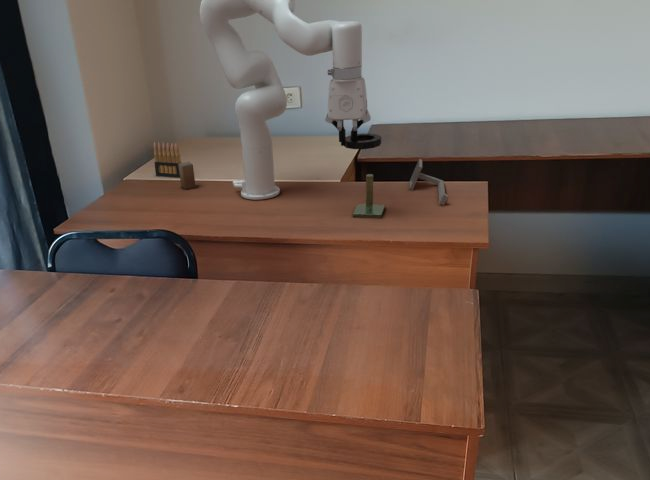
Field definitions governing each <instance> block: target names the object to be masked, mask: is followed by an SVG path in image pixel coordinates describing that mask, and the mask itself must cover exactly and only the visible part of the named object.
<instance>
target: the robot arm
mask: <svg viewBox="0 0 650 480" xmlns="http://www.w3.org/2000/svg"><path fill="white" fill-rule="evenodd" d="M295 9H296V0H201V2H200V6H199V19H200V23H201V26H202V29H203V31H204V33H205V35H206V36H207V39H209V41H210V44H211V45H212V47H213V50H214V52H215V55H216V58H217V59H218V62H219V64H220V66H221V69H222V71H223V73H224V75H225V78H226V80H227V82H228V83H229V85H230V86H231V87H232V88H234V89H237V90H241V89H246V88H249V87H253V86H254V89H250V90H247V91H245V92H242V93H241V94H239V96H238V98H237V99H236V101H235V106H234V110H235V111H234V112H235V116H236V120H237V123H238V127H239V133H240V134H239V135H240V144H241V152H242V153H241V154H242V166H243V177H244V179H242V180H238V179H237V180H236V179H234V180H232V186H233V188H234V189H240V196H241V197H242V198H243V199H247V200H252V201H253V200H255V201H257V200H258V201H260V200H269V199H272V198H275V197H277V196H279V194H280V193H281V189H280V187H279V186H278V185H276V184H275V183H276V182H275V167H274V151H273V138H272V133H271V130H270V128H269V125H268V123H267V122H268V121H269V120H272V119H275V118H278V117H280V116H281V115H283V114H284V113H285V111H286V110H287V106H288V99H287V94H286V92H285V88H284V86H283V84H282V81H281V79H280V76H279V74H278V71H277V69H276V67H275V65H274V62H273V60H272V59H271V57H270V56H269V55H268V54H267V53H266V52H264V51H262V50H257V49H256V50H255V49H254V50H251V51H248V50H247V48H246V47H245V44H244V42H243V39H242V37H241V35H240V33H239V32H238V31H237V30H236V29H235V27H234V26H232V25H231V24H230V22H229V21H230V20H231V21H232V20H237V19H241V18H247V17H250V16H253V15H255V14H258V15H260V16H261V17H263V18H264V19H266V20H267V21H268V22H270V23H272V24H273V25H274V28H275V31H276V33H277V35H278V37H279V38H280V40H281V41H282V42H283V44H286V45H287V46H288V47H290V49H293V50H295V51H296V52H297V53H299V54H301V55H303V56H306V57H307V56H308V57H310V56H315V55H319V54H324V53H328V52H332V68H331V69H327V76H331V77H332V79H330V80H329V86H328V96H327V98H328V99H327V114H326V116H325V119H324V121H325V122H326V123H328V124H331V125H333V126H334V128H336V130H337V131H338V142H339V143H340V146H341V147H344V138H345V137H347V135H346V129H345V125H344V121H352V128H351V131H350V135H351V140H354V141H357V134H358V129H359V128H360V127H361V126H362V125H363V124H365V123H368V122H370V121H371V119H372V116H371V114H370V111H369V109H368V97H367V96H368V95H367V85H366V81H365V80H366V79H365V77H363V67H362V66H363V29H362V28H363V27H362V24H361V22H360V21H357V20H345V21H344V20H343V21H340V20H334V19H326V20H320V21H319V20H318V21H315V22H310V23H308V22H306V21H304V20H302V19H301V18H299V17H298V16H297V15H295V14H294V13H295Z"/></svg>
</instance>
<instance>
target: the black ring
mask: <svg viewBox="0 0 650 480" xmlns="http://www.w3.org/2000/svg"><path fill="white" fill-rule="evenodd" d="M381 145H382V136H381V135H379V134H378V133H377V134H376V133H367V132H366V133H357V141H354V140H351V134H350V135H346V137H345V138H344V145H343V147H345V148H346V149H351V150H368V149H369V150H370V149H375V148H377V147H380V146H381Z"/></svg>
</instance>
